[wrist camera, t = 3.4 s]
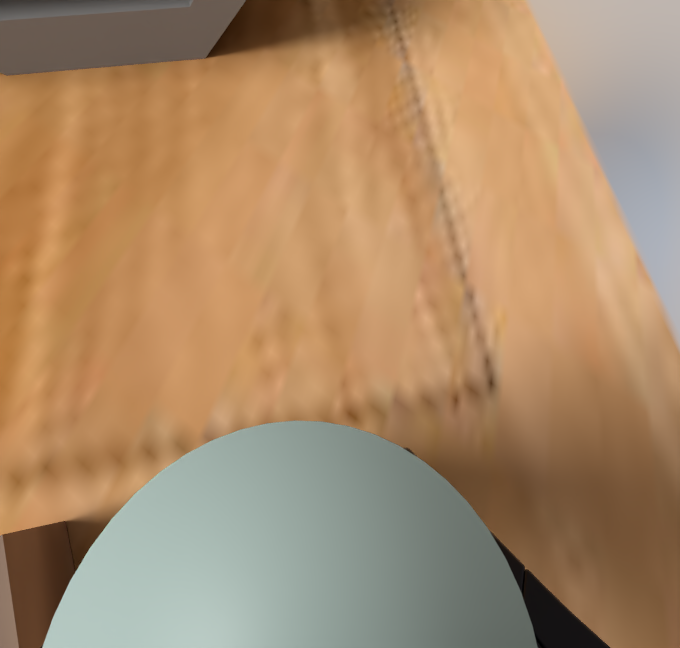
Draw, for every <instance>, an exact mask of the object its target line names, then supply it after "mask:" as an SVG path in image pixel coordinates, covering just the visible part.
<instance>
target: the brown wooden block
mask: <svg viewBox="0 0 680 648" xmlns="http://www.w3.org/2000/svg"><path fill="white" fill-rule="evenodd" d="M74 574H75V568H74V563H73V558H72V553H71V548H70V543H69V538H68V533H67V527H66V522H65V521H63V522H58V523H54V524H49V525H45V526H40V527H36V528H31V529H26V530H22V531H17V532H13V533H8V534H4V535H1V536H0V648H39V647H40V646H41V645H42V644H43V643H44V642H45V639H46V636H47V633H48V630H49V628H50V625H51V622H52V619H53V617H54V614H55V612H56V610H57V608H58V606H59V604H60V602H61V600H62V597H63V595H64V593H65V591H66V589H67V587H68V585H69V583H70V581H71V579H72V577H73V576H74Z"/></svg>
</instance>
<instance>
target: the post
mask: <svg viewBox="0 0 680 648" xmlns="http://www.w3.org/2000/svg"><path fill="white" fill-rule="evenodd" d="M42 648H538V647H537V643H536V639H535V634H534V630H533V626H532V623H531V620H530V617H529V614H528V611H527V608H526V605H525V602H524V600H523V597H522V594H521V591H520V589H519V586H518V584H517V582H516V580H515V578H514V575H513V573H512V571H511V569H510V567H509V565H508V562H507V560H506V558H505V556H504V555H503V553H502V551H501V550H500V548H499V546H498V545H497V543H496V541H495V540H494V538H493V536H492V535H491V533H490V531H489V529H488V528H487V527H486V525H485V524H484V523H483V521H482V520H481V519H480V517H479V516H478V515H477V513H476V512H475V511H474V509H473V508H472V507H471V506H470V504H469V503H468V502H467V501H466V500H465V499H464V498H463V497H462V495H461V494H460V493H459V492H458V491H457V490H456V489H455V488H454V487H453V486H452V485H451V484H450V483H449V482H448V481H447V480H446V479H445V478H444V477H442V476H441V475H440V474H439V473H438V472H436V471H435V470H434V469H433V468H431V467H430V466H429V465H428V464H427V463H425V462H424V461H423V460H421V459H419V458H418V457H416V456H415V455H413V454H412V453H410V452H408V451H407V450H405V449H404V448H402V447H400V446H399V445H396V444H394V443H392V442H390V441H388V440H386V439H383V438H381V437H379V436H377V435H375V434H372V433H369V432H365V431H362V430H359V429H356V428H353V427H349V426H344V425H338V424H333V423H327V422H317V421H287V422H277V423H267V424H263V425H259V426H254V427H250V428H246V429H242V430H238V431H236V432H233V433H230V434H228V435H225V436H222V437H220V438H217V439H214V440H212V441H210V442H208V443H206V444H204V445H203V446H201V447H199V448H197V449H195V450H193V451H191V452H189V453H187V454H186V455H184V456H183V457H181V458H180V459H178V460H177V461H175V462H174V463H172V464H171V465H169V466H168V467H167V468H165V469H164V470H162V471H161V472H159V473H158V474H157V475H156V476H155V477H154V478H153V479H151V480H150V481H149V482H148V483H147V484H146V485H144V486H143V487H142V488H141V489H140V490H139V491H138V492H136V493H135V494H134V495H133V497H132V498H131V499H130V500H129V501H128V502H127V503H126V504H125V505H124V506H123V507H122V508H121V509H120V511H119V512H118V513H117V514H116V515H115V516H114V517H113V518H112V519H111V521H110V522H109V523H108V525H107V526H106V527H105V529H104V530H103V531H102V533H101V534H100V535H99V537H98V538H97V539H96V541H95V542H94V543H93V545H92V546H91V547H90V549H89V550H88V552H87V554H86V555H85V557H84V559H83V560H82V562H81V564H80V565H79V567H78V569H77V571H76V572H75V574H74V576H73V577H72V579H71V581H70V583H69V585H68V587H67V589H66V591H65V593H64V595H63V597H62V600H61V602H60V604H59V606H58V608H57V610H56V612H55V614H54V617H53V619H52V622H51V625H50V628H49V630H48V633H47V636H46V639H45V642H44V644H43V647H42Z"/></svg>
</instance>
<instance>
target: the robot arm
mask: <svg viewBox="0 0 680 648" xmlns="http://www.w3.org/2000/svg"><path fill="white" fill-rule="evenodd" d="M404 449H405V450H407V451H408V452H410V453H412V454H413V455H415V454H414V453H413V452H412V451H411V450H410V449H408V448H404ZM415 456H416V455H415ZM416 457H417V456H416ZM489 531H490V530H489ZM490 533H491V535H492V536H493V538H494V540H495V541H496V543H497V545H498V546H499V548H500V550H501V551H502V553H503V555H504V556H505V558H506V560H507V562H508V565H509V567H510V569H511V571H512V573H513V575H514V578H515V580H516V582H517V584H518V586H519V589H520V591H521V594H522V597H523V600H524V602H525V605H526V608H527V611H528V614H529V617H530V620H531V623H532V626H533V630H534V634H535V639H536V643H537V647H538V648H610V647H609V646H608V645H607V644H606V643H605V642H604V641H602V640H601V639H600V638H599V637H598V636H597V635H596V634H595V633H594V632H593V631H591V630H590V629H589V628H588V627H587V626H586V625H585V624H584V623H583V622H581V621H580V620H579V619H578V618H577V617H576V616H575V615H574V614H573V613H572V612H571V611H569V610H568V609H567V608H566V607H565V606H564V605H563V604H562V603H561V602H560V601H559V600H558V599H557V598H556V597H555V596H554V595H553V594H552V593H551V592H550V591H549V590H548V589H547V588H546V587H545V586H544V585H543V584H542V583H541V582H540V581H539V580H538V579H537V578H536V577H535V576H534V575H533V574H532V573H531V572H530V571H529V570H528V569H526V570H525V566H524V565H523V564H522V563H521V562H520V561H519V560H518V559H517V558H516V557H515V556H514V555H513V554H512V553H511V552H510V551H509V550H508V549H507V548H506V547H505V546H504V545H503V544H502V543H501V542H500V541H499V540H498V538H497V537H496V536H495V535H494V534H493V533H492V532H491V531H490ZM43 644H44V643H43ZM43 644H42V645H41V646H40V647H39V648H42V647H43Z"/></svg>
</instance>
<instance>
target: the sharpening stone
mask: <svg viewBox="0 0 680 648" xmlns="http://www.w3.org/2000/svg"><path fill="white" fill-rule="evenodd" d="M245 1H246V0H0V73H2V74H4V75H18V74H29V73H41V72H53V71H64V70H76V69H87V68H99V67H111V66H122V65H134V64H145V63H157V62H168V61H180V60H192V59H203V58H206V57H207V55H208V54H209V52H210V51H211V49H212V48H213V47H214V45H215V44H216V42H217V41H218V39H219V38H220V37H221V35H222V34H223V32H224V31H225V30H226V28H227V27H228V25H229V24H230V22H231V21H232V20H233V18H234V17H235V15H236V14H237V12H238V11H239V10H240V8H241V7H242V5H243V4H244V2H245Z"/></svg>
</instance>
